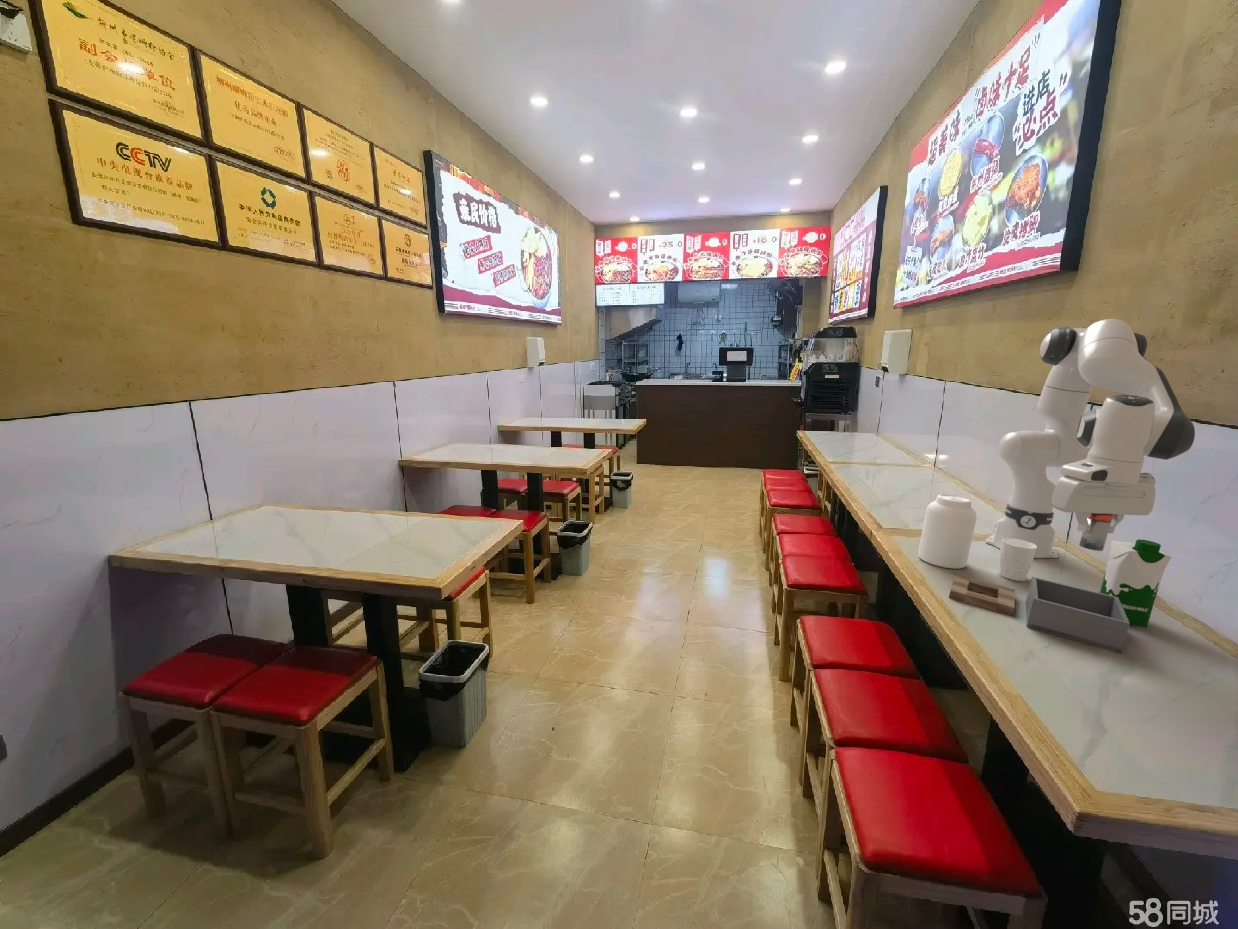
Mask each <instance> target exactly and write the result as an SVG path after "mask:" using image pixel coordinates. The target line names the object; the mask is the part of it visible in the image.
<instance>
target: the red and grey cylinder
mask: <svg viewBox="0 0 1238 929" xmlns="http://www.w3.org/2000/svg"><path fill="white" fill-rule="evenodd" d="M1112 516H1113V515H1111V514H1096V513H1091V516H1090V518H1087V519H1088V523H1089V524H1090V525H1092V528H1091V532H1081V537H1080V541H1079V547H1082V548H1085V549H1088V550H1091V551H1097V552H1102V551H1103V552H1104V548H1105V545H1106V541H1107V538H1108V534H1109V533H1108V531H1109V527H1110V523H1111V520H1112Z"/></svg>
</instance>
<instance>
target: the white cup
mask: <svg viewBox="0 0 1238 929" xmlns="http://www.w3.org/2000/svg"><path fill="white" fill-rule="evenodd" d="M1036 549H1037V546H1036V545H1034V544H1032V543H1030V542H1027V541H1023V540H1019V539H1013V538H1003V539H1002V542H1001V548H1000V549H999V556H998V562H997V564H998V565H997V572H996V573H997V575H999V576H1001V577H1003V578H1004V579H1008V580H1013V581H1016V582H1025V581H1027V579H1028V575H1029V573H1030V570H1031V567H1032V565H1033V561H1034V559H1035V558H1034V556H1035V553H1036Z"/></svg>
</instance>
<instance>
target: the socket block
mask: <svg viewBox="0 0 1238 929" xmlns="http://www.w3.org/2000/svg"><path fill="white" fill-rule="evenodd" d="M1015 594H1016V589H1014V588H1009V587H1006V586H1002V585H998V584H994V583H990V582H987V581H983V580H979V579H975V578H971V577H968V576H964V575H959V574H956V573H955V574H954V578H953V581H952V585H951V587H950V591H949V595H948V598H949V599H951V600H955V601H959V602H963V603H966V604H969V605H974V606H978V607H980V608H985V609H987V610H992V611H995V612H999V613H1002V614H1005V615H1009V616H1011V617H1012V616H1014V611H1015V604H1016V603H1015V597H1016V596H1015Z"/></svg>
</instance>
